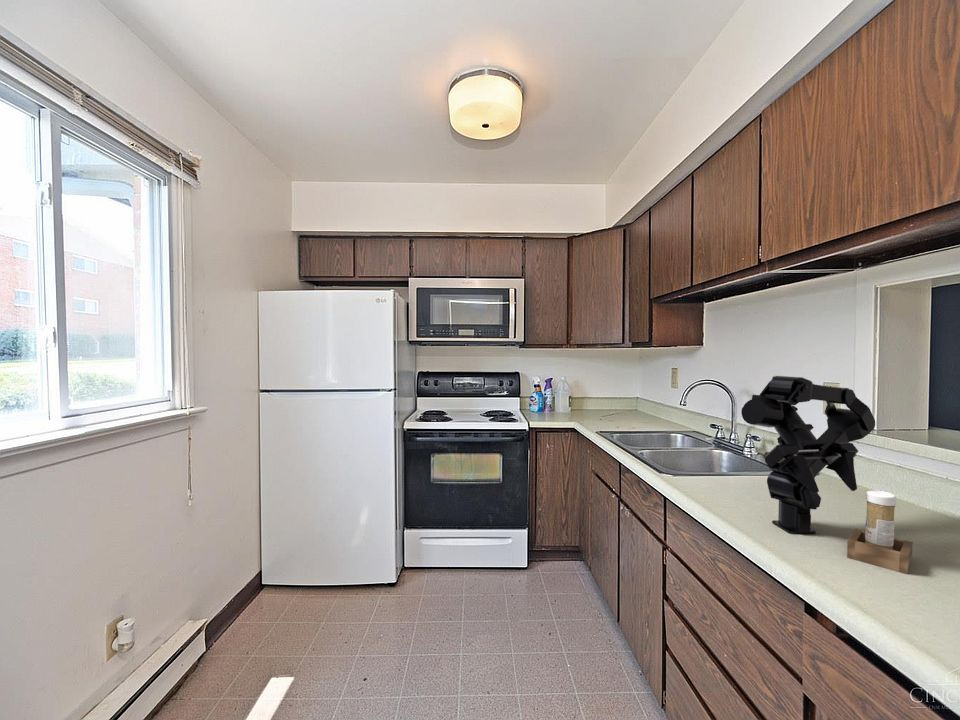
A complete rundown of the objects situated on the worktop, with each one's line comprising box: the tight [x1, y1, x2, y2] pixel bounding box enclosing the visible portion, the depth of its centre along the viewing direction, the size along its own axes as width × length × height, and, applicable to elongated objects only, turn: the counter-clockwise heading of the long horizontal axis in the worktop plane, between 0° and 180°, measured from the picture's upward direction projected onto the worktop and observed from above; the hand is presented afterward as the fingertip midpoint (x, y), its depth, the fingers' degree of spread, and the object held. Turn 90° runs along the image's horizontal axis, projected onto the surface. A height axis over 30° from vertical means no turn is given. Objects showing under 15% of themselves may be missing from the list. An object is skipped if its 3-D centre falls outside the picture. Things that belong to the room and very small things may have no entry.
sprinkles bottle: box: [864, 489, 897, 550], centre depth 91 cm, size 5×5×13 cm
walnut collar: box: [846, 528, 914, 575], centre depth 92 cm, size 9×9×4 cm
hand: (835, 491), depth 92 cm, fingers open, 9 cm apart
